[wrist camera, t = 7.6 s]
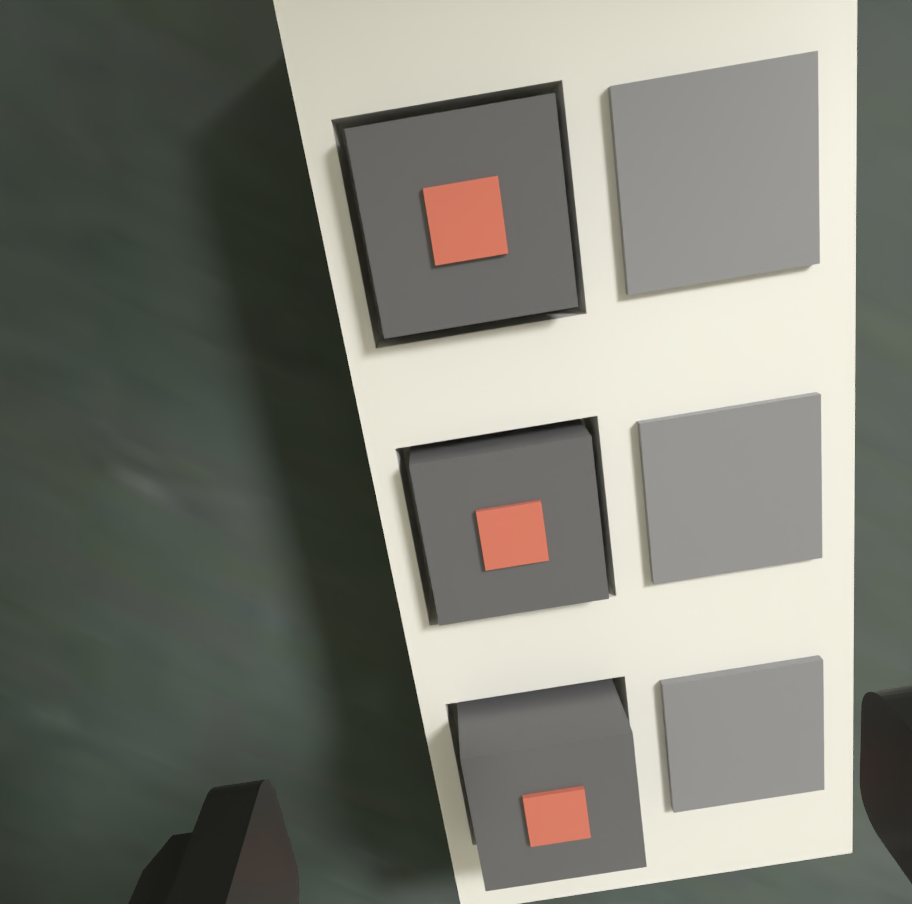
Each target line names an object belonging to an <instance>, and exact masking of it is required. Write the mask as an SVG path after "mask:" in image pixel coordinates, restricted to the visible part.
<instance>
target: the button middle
mask: <svg viewBox="0 0 912 904" xmlns="http://www.w3.org/2000/svg"><path fill="white" fill-rule="evenodd" d="M409 469H410V474H411V480H412V485H413V490H414V495H415V501H416V506H417V511H418V516H419V522H420V527H421V532H422V537H423V543H424V548H425V553H426V558H427V564H428V569H429V574H430V579H431V585H432V590H433V595H434V600H435V606H436V611H437V616H438V621H439V626H441V625H447V624H454V623H460V622H466V621H472V620H479V619H485V618H491V617H498V616H504V615H510V614H516V613H523V612H529V611H535V610H542V609H548V608H554V607H561V606H567V605H573V604H579V603H586V602H592V601H598V600H605V599H609V593H608V584H607V575H606V565H605V556H604V547H603V538H602V529H601V519H600V510H599V501H598V492H597V483H596V473H595V464H594V455H593V446H592V437H591V435H590V433H589V432H588V431H587V429H586V428H585V426H584V425H583V424H582V422H581V421H580V419H574V420H568V421H562V422H556V423H550V424H544V425H538V426H532V427H525V428H519V429H513V430H507V431H501V432H495V433H489V434H483V435H476V436H470V437H464V438H458V439H452V440H446V441H440V442H433V443H427V444H421V445H415V446H410V459H409Z"/></svg>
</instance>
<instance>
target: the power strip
mask: <svg viewBox="0 0 912 904" xmlns="http://www.w3.org/2000/svg"><path fill="white" fill-rule="evenodd" d="M273 2H274V7H275V12H276V17H277V22H278V27H279V31H280V36H281V41H282V46H283V51H284V55H285V60H286V65H287V70H288V75H289V79H290V84H291V89H292V94H293V99H294V104H295V108H296V113H297V118H298V123H299V128H300V132H301V137H302V142H303V147H304V152H305V157H306V161H307V166H308V171H309V176H310V181H311V185H312V190H313V195H314V200H315V205H316V210H317V214H318V219H319V224H320V229H321V234H322V238H323V243H324V248H325V253H326V258H327V262H328V267H329V272H330V277H331V282H332V287H333V291H334V296H335V301H336V306H337V311H338V315H339V320H340V325H341V330H342V335H343V340H344V344H345V349H346V354H347V359H348V364H349V368H350V373H351V378H352V383H353V388H354V393H355V397H356V402H357V407H358V412H359V417H360V421H361V426H362V431H363V436H364V441H365V445H366V450H367V455H368V460H369V465H370V470H371V474H372V479H373V484H374V489H375V494H376V498H377V503H378V508H379V513H380V518H381V523H382V527H383V532H384V537H385V542H386V547H387V551H388V556H389V561H390V566H391V571H392V576H393V580H394V585H395V590H396V595H397V600H398V604H399V609H400V614H401V619H402V624H403V628H404V633H405V638H406V643H407V648H408V653H409V657H410V662H411V667H412V672H413V677H414V681H415V686H416V691H417V696H418V701H419V706H420V710H421V715H422V720H423V725H424V730H425V734H426V739H427V744H428V749H429V754H430V759H431V763H432V768H433V773H434V778H435V783H436V787H437V792H438V797H439V802H440V807H441V811H442V816H443V821H444V826H445V831H446V836H447V840H448V845H449V850H450V855H451V860H452V864H453V869H454V874H455V879H456V884H457V889H458V893H459V898H460V903H461V904H519V903H525V902H532V901H538V900H545V899H552V898H558V897H565V896H571V895H578V894H584V893H591V892H598V891H604V890H611V889H617V888H624V887H630V886H637V885H644V884H650V883H657V882H663V881H670V880H676V879H683V878H690V877H696V876H703V875H709V874H716V873H723V872H729V871H736V870H742V869H749V868H755V867H762V866H769V865H775V864H782V863H788V862H795V861H801V860H808V859H815V858H821V857H828V856H834V855H841V854H847V853H852V812H853V638H854V465H855V291H856V117H857V0H273ZM551 93H555V96H556V105H557V114H558V124H559V133H560V142H561V151H562V161H563V170H564V179H565V188H566V198H567V207H568V216H569V225H570V235H571V244H572V253H573V262H574V272H575V281H576V290H577V299H578V307H573V308H567V309H561V310H555V311H549V312H543V313H537V314H531V315H525V316H519V317H513V318H507V319H501V320H495V321H489V322H483V323H477V324H471V325H465V326H459V327H453V328H446V329H440V330H434V331H428V332H422V333H416V334H410V335H404V336H398V337H392V338H386V339H384V335H383V330H382V324H381V319H380V314H379V309H378V303H377V298H376V293H375V288H374V282H373V277H372V272H371V267H370V261H369V256H368V251H367V246H366V240H365V235H364V230H363V225H362V219H361V214H360V209H359V204H358V198H357V193H356V188H355V183H354V177H353V172H352V167H351V162H350V156H349V151H348V146H347V141H346V136H345V130H344V129H347V128H352V127H358V126H364V125H370V124H376V123H382V122H387V121H393V120H399V119H405V118H411V117H417V116H423V115H428V114H434V113H440V112H446V111H452V110H458V109H464V108H469V107H475V106H481V105H487V104H493V103H499V102H505V101H510V100H516V99H522V98H528V97H534V96H540V95H545V94H551ZM574 419H580V421H581V422H582V424H583V425H584V426H585V428H586V429H587V431H588V432H589V433H590V435H591V437H592V446H593V455H594V464H595V473H596V483H597V492H598V501H599V510H600V519H601V529H602V538H603V547H604V556H605V565H606V575H607V584H608V593H609V599H605V600H598V601H592V602H586V603H579V604H573V605H567V606H561V607H554V608H548V609H542V610H535V611H529V612H523V613H516V614H510V615H504V616H498V617H491V618H485V619H479V620H472V621H466V622H460V623H454V624H447V625H441V626H439V621H438V616H437V611H436V606H435V600H434V595H433V590H432V585H431V579H430V574H429V569H428V564H427V558H426V553H425V548H424V543H423V537H422V532H421V527H420V522H419V516H418V511H417V506H416V501H415V495H414V490H413V485H412V480H411V474H410V469H409V459H410V446H415V445H421V444H427V443H433V442H440V441H446V440H452V439H458V438H464V437H470V436H476V435H483V434H489V433H495V432H501V431H507V430H513V429H519V428H525V427H532V426H538V425H544V424H550V423H556V422H562V421H568V420H574ZM610 678H612V680H613V683H614V686H615V688H616V691H617V693H618V696H619V699H620V701H621V704H622V706H623V709H624V711H625V714H626V717H627V719H628V722H629V724H630V727H631V729H632V732H633V740H634V749H635V759H636V769H637V778H638V788H639V797H640V807H641V817H642V826H643V836H644V846H645V855H646V865H647V867H643V868H636V869H630V870H623V871H617V872H610V873H603V874H597V875H590V876H584V877H577V878H571V879H564V880H558V881H551V882H544V883H538V884H531V885H525V886H518V887H512V888H505V889H498V890H492V891H485V886H484V880H483V875H482V870H481V865H480V860H479V854H478V849H477V844H476V839H475V834H474V828H473V823H472V818H471V813H470V808H469V802H468V797H467V792H466V787H465V782H464V777H463V771H462V766H461V761H460V747H459V728H458V710H457V702H463V701H470V700H476V699H482V698H489V697H495V696H502V695H508V694H514V693H521V692H527V691H533V690H540V689H546V688H553V687H559V686H565V685H572V684H578V683H584V682H591V681H597V680H603V679H610Z"/></svg>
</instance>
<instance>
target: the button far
mask: <svg viewBox="0 0 912 904" xmlns="http://www.w3.org/2000/svg"><path fill="white" fill-rule="evenodd" d="M457 710H458V728H459V747H460V761H461V766H462V771H463V777H464V782H465V787H466V792H467V797H468V802H469V808H470V813H471V818H472V823H473V828H474V834H475V839H476V844H477V849H478V854H479V860H480V865H481V870H482V875H483V880H484V886H485V891H492V890H498V889H505V888H512V887H518V886H525V885H531V884H538V883H544V882H551V881H558V880H564V879H571V878H577V877H584V876H590V875H597V874H603V873H610V872H617V871H623V870H630V869H636V868H643V867H647V865H646V855H645V846H644V836H643V826H642V817H641V807H640V797H639V788H638V778H637V769H636V759H635V749H634V740H633V732H632V729H631V727H630V724H629V722H628V719H627V717H626V714H625V711H624V709H623V706H622V704H621V701H620V699H619V696H618V693H617V691H616V688H615V686H614V683H613V680H612V678H610V679H603V680H597V681H591V682H584V683H578V684H572V685H565V686H559V687H553V688H546V689H540V690H533V691H527V692H521V693H514V694H508V695H502V696H495V697H489V698H482V699H476V700H470V701H463V702H457Z"/></svg>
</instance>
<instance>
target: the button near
mask: <svg viewBox="0 0 912 904" xmlns="http://www.w3.org/2000/svg"><path fill="white" fill-rule="evenodd" d="M344 130H345V136H346V141H347V146H348V151H349V156H350V162H351V167H352V172H353V177H354V183H355V188H356V193H357V198H358V204H359V209H360V214H361V219H362V225H363V230H364V235H365V240H366V246H367V251H368V256H369V261H370V267H371V272H372V277H373V282H374V288H375V293H376V298H377V303H378V309H379V314H380V319H381V324H382V330H383V335H384V339H386V338H392V337H398V336H404V335H410V334H416V333H422V332H428V331H434V330H440V329H446V328H453V327H459V326H465V325H471V324H477V323H483V322H489V321H495V320H501V319H507V318H513V317H519V316H525V315H531V314H537V313H543V312H549V311H555V310H561V309H567V308H573V307H578V299H577V290H576V281H575V272H574V262H573V253H572V244H571V235H570V225H569V216H568V207H567V198H566V188H565V179H564V170H563V161H562V151H561V142H560V133H559V124H558V114H557V105H556V96H555V93H551V94H545V95H540V96H534V97H528V98H522V99H516V100H510V101H505V102H499V103H493V104H487V105H481V106H475V107H469V108H464V109H458V110H452V111H446V112H440V113H434V114H428V115H423V116H417V117H411V118H405V119H399V120H393V121H387V122H382V123H376V124H370V125H364V126H358V127H352V128H347V129H344Z"/></svg>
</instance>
